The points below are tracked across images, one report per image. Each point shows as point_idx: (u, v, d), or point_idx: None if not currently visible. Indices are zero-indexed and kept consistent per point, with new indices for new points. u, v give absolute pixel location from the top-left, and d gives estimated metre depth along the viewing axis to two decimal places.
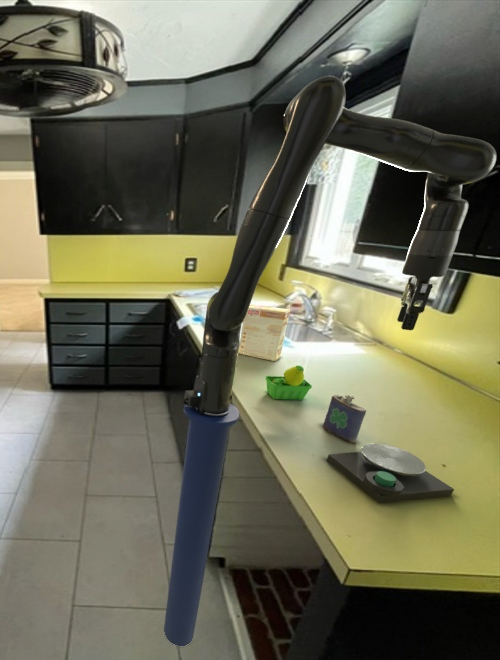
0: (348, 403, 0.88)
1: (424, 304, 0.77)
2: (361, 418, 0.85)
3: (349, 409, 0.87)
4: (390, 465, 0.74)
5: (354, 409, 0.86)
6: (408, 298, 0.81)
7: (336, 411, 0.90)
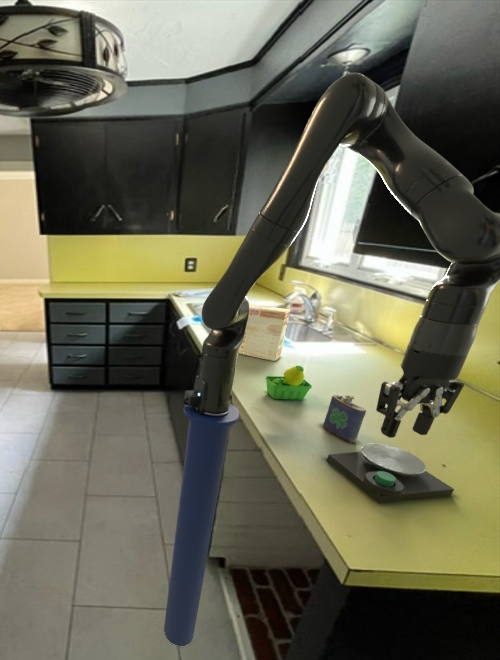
0: (348, 403, 0.88)
1: (387, 409, 0.62)
2: (361, 418, 0.85)
3: (349, 409, 0.87)
4: (390, 465, 0.74)
5: (354, 409, 0.86)
6: None
7: (336, 411, 0.90)
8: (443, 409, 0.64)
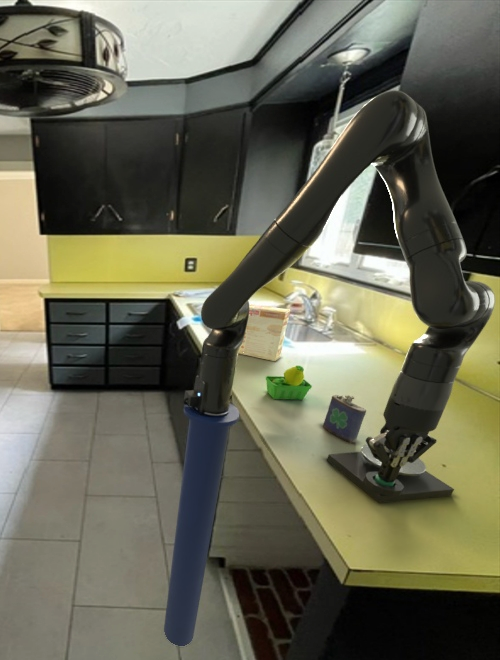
0: (348, 403, 0.88)
1: (381, 460, 0.67)
2: (361, 418, 0.85)
3: (349, 409, 0.87)
4: None
5: (354, 409, 0.86)
6: None
7: (336, 411, 0.90)
8: (409, 458, 0.67)
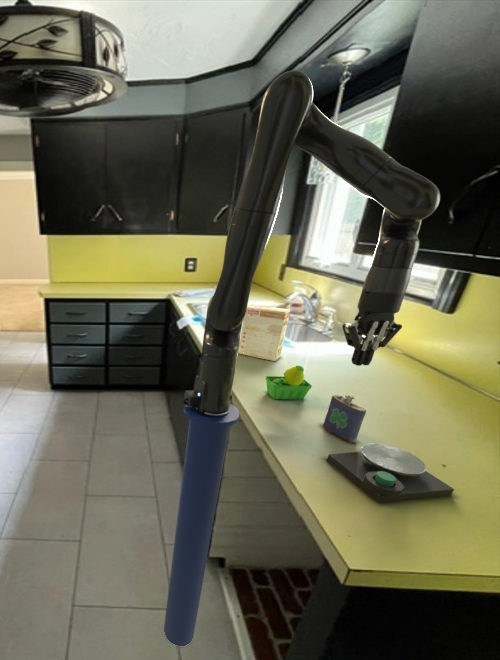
0: (348, 403, 0.88)
1: (353, 343, 0.81)
2: (361, 418, 0.85)
3: (349, 409, 0.87)
4: (390, 465, 0.74)
5: (354, 409, 0.86)
6: None
7: (336, 411, 0.90)
8: (380, 343, 0.82)
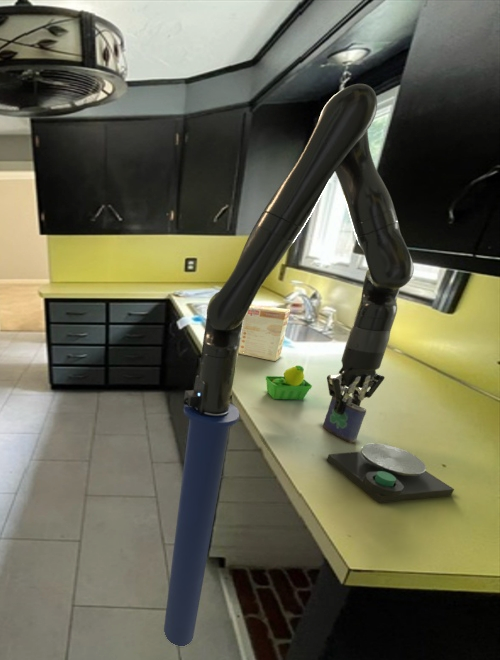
0: (348, 403, 0.88)
1: (335, 394, 0.86)
2: (361, 418, 0.85)
3: (349, 409, 0.87)
4: (390, 465, 0.74)
5: (354, 409, 0.86)
6: None
7: None
8: (366, 394, 0.87)
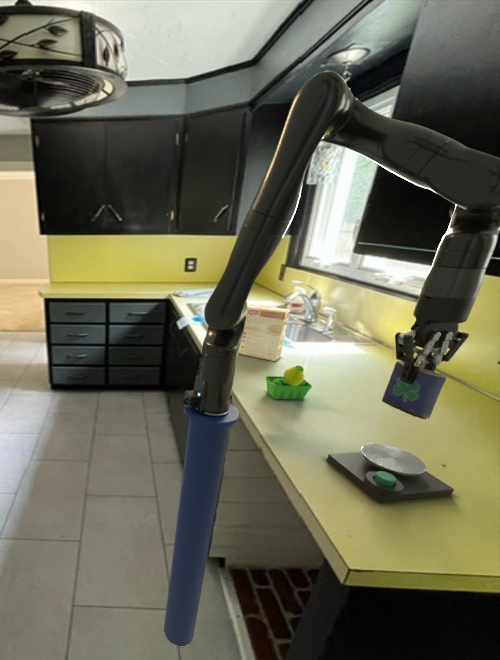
0: (420, 369, 0.70)
1: (406, 356, 0.68)
2: (440, 387, 0.67)
3: (423, 376, 0.69)
4: (390, 465, 0.74)
5: (430, 375, 0.68)
6: None
7: None
8: (444, 357, 0.69)
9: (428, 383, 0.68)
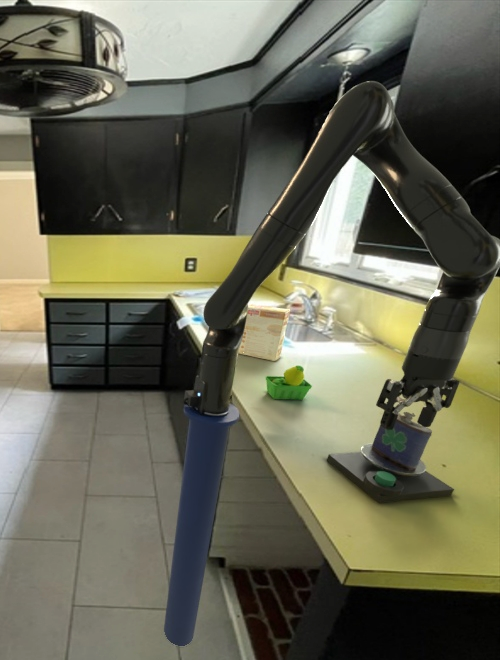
0: (407, 421, 0.72)
1: (387, 403, 0.69)
2: (425, 440, 0.70)
3: (409, 429, 0.71)
4: (390, 465, 0.74)
5: (416, 429, 0.70)
6: None
7: (392, 431, 0.75)
8: (445, 404, 0.71)
9: (414, 436, 0.71)
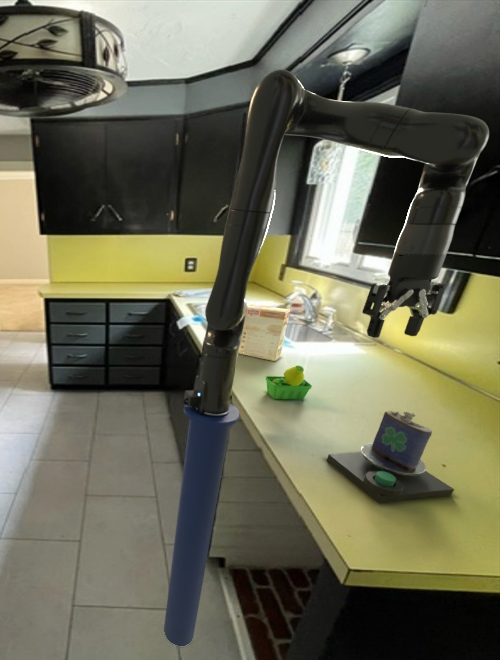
0: (407, 421, 0.72)
1: (373, 307, 0.69)
2: (425, 440, 0.70)
3: (409, 429, 0.71)
4: (390, 465, 0.74)
5: (416, 429, 0.70)
6: None
7: (392, 431, 0.75)
8: (431, 310, 0.71)
9: (414, 436, 0.71)
